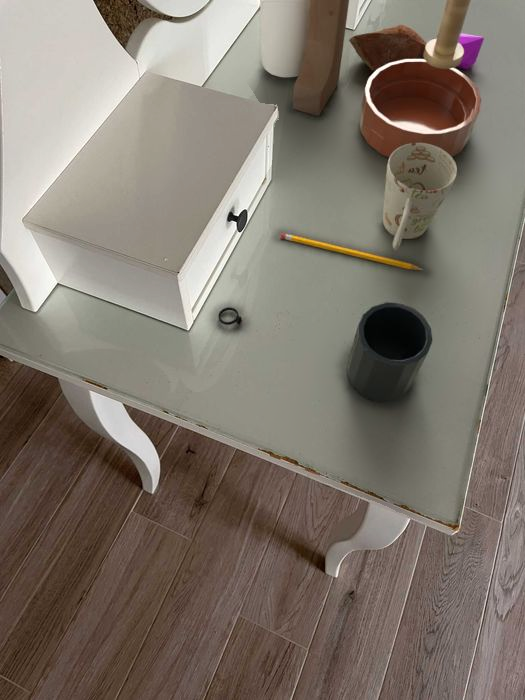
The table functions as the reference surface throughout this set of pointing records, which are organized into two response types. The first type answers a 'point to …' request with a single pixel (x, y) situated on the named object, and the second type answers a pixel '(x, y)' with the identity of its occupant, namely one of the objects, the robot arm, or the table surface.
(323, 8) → the wooden block
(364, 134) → the bowl
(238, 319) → the ring
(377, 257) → the pencil
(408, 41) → the fossil
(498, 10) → the table surface
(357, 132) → the table surface
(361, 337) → the utensil pot
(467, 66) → the crystal
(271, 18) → the cup
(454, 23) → the stirring stick
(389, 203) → the mug
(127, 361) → the table surface
